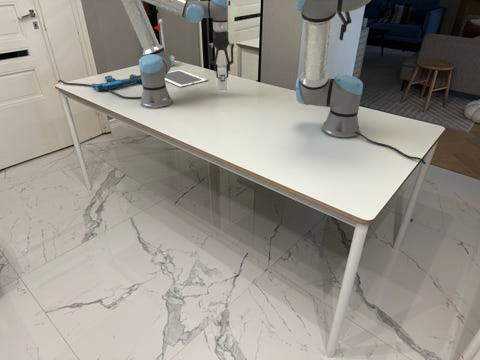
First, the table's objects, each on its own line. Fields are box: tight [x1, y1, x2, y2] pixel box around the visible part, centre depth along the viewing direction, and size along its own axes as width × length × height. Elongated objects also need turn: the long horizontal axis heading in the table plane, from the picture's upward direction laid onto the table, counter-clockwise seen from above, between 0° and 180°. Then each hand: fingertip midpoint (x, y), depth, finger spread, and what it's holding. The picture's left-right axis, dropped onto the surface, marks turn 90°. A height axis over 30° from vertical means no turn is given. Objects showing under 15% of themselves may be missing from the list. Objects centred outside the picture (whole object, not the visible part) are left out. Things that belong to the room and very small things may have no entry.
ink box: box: [217, 64, 228, 91], centre depth 183 cm, size 9×5×15 cm, turn 2°
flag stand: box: [153, 18, 176, 67], centre depth 235 cm, size 13×13×30 cm
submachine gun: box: [90, 73, 142, 92], centre depth 207 cm, size 34×4×25 cm
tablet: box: [165, 69, 208, 88], centre depth 216 cm, size 32×20×1 cm, turn 41°
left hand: (222, 76), depth 184 cm, fingers closed on ink box, 5 cm apart
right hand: (326, 39), depth 161 cm, fingers open, 13 cm apart
